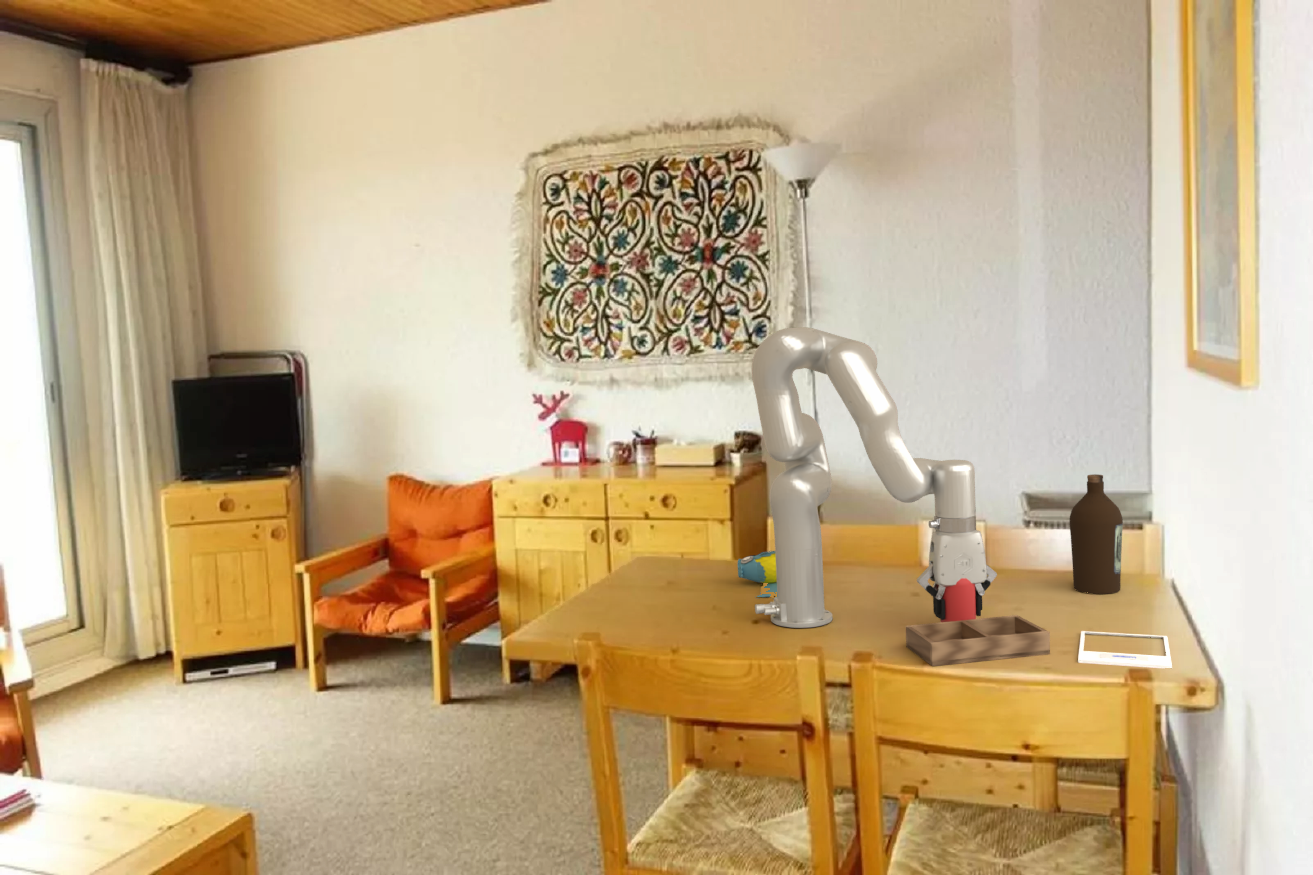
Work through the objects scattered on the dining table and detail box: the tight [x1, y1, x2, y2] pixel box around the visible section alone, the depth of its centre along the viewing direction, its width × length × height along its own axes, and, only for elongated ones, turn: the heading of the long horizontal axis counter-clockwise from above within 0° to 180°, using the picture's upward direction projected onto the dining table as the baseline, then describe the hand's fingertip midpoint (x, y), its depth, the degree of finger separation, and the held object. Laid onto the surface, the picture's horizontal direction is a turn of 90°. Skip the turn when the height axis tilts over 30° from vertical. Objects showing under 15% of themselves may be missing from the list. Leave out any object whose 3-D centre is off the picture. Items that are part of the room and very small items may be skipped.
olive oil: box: [1069, 473, 1124, 595], centre depth 230 cm, size 11×11×25 cm
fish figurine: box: [736, 550, 777, 598], centre depth 253 cm, size 28×9×15 cm
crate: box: [905, 614, 1051, 667], centre depth 194 cm, size 22×12×4 cm, turn 99°
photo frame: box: [1077, 630, 1173, 669], centre depth 189 cm, size 15×1×18 cm
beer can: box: [940, 574, 977, 623], centre depth 205 cm, size 7×7×12 cm
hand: (958, 615), depth 206 cm, fingers closed on beer can, 6 cm apart
